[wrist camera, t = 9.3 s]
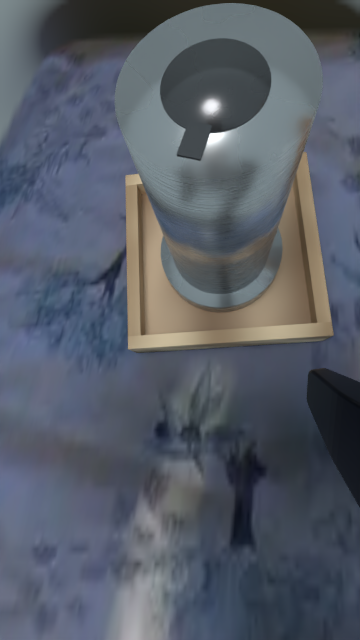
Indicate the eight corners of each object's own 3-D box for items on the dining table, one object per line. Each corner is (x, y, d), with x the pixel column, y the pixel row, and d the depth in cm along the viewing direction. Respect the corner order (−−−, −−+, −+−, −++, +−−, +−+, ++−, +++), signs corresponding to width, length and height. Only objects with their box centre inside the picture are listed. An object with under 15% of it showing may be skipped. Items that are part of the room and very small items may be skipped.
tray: (298, 173, 24) (306, 152, 22) (322, 340, 21) (333, 335, 19) (133, 193, 25) (125, 175, 23) (137, 352, 23) (128, 348, 21)
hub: (291, 219, 22) (382, -8, 9) (260, 326, 21) (315, 232, 8) (184, 195, 24) (137, -31, 11) (149, 294, 22) (51, 171, 10)
